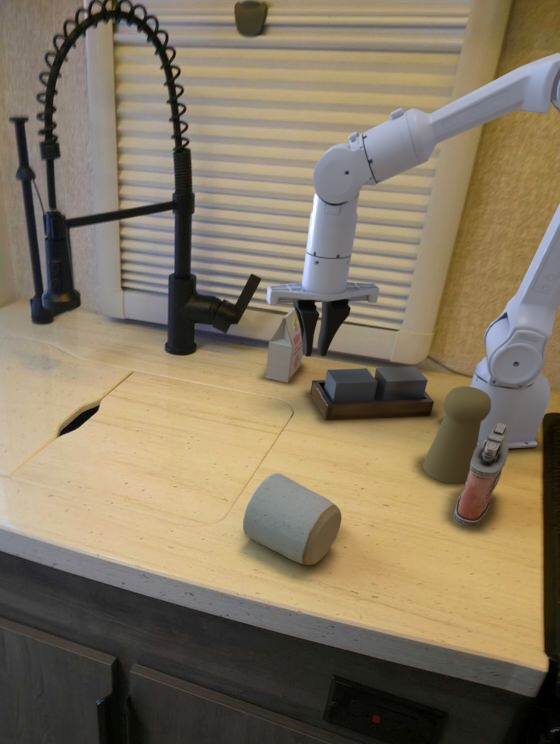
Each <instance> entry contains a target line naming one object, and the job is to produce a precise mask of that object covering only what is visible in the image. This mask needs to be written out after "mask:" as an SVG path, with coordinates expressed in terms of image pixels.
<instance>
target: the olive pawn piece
mask: <svg viewBox="0 0 560 744" xmlns="http://www.w3.org/2000/svg"><path fill="white" fill-rule="evenodd" d="M490 409H491V399H490V397H489V395H488V394H487V393H485V392H484V391H482V390H480V389H477V388H474V387H470V386H466V385H465V386H463V385H461V386H457V387H454V388H452V389H451V390H450V391H449V392H447V394H446V395H445V397H444V401H443V412H444V413H445V414H444V416H443V418H442V420H441V422H440V425H439V427H438V429H437V432H436V434H435V436H434V438H433V440H432V442H431V444H430V446H429V449H428V451H427V454H426V456H425V458H424V460H423V462H422V469H423V472H424V473H425V474H426V475H428V476H429V477H430V478H431V479H434V480H436V481H439V482H442V483H447V484H464V483H466V480H467V477H468V474H469V471H470V465H471V460H472V457H473V454H474V451H475V449H476V447H477V443H478V437H479V431H480V425H481V421H483V420H484V419H485V418H486V417H487V415H488V414H489V412H490Z"/></svg>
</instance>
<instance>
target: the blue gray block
mask: <svg viewBox="0 0 560 744" xmlns="http://www.w3.org/2000/svg"><path fill="white" fill-rule="evenodd" d="M374 377H375V376H373V374H372V373H371V372H370V370H369V369H368V368H366V367H365V368H339V369H327V370H326V375H325V379H324V380H325V386H324V392H325V394H326V395H327V397H328V399H329V400H330V402H331V403H346V402H371V401H373V400H374V395H375V391H376V386H377V381H376V380H375V378H374Z"/></svg>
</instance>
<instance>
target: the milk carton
mask: <svg viewBox="0 0 560 744" xmlns="http://www.w3.org/2000/svg"><path fill="white" fill-rule="evenodd" d="M303 355H304V353H303V351H302V337H301V330H300V325H299V321H298V317H297V314H296V311H295V308H294V307H292V308H291V309H290V310H289V311H288V312H287V314H285V315H284V316H283V318H282V320H281V322H280V324H279V326H278V328H277V329H276V331H275V333H274V334H273V335H272V337H271V339H270V340H269V342H268V349H267V358H266V370H265V379H268V380H273V381H278V382H281V383H282V382H283V383H286V384H287V383H289V382H290V381H291V380H292V378H293V377H294V376H295V374H297V372H298V371H299V369H301V367H302V361H303Z"/></svg>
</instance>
